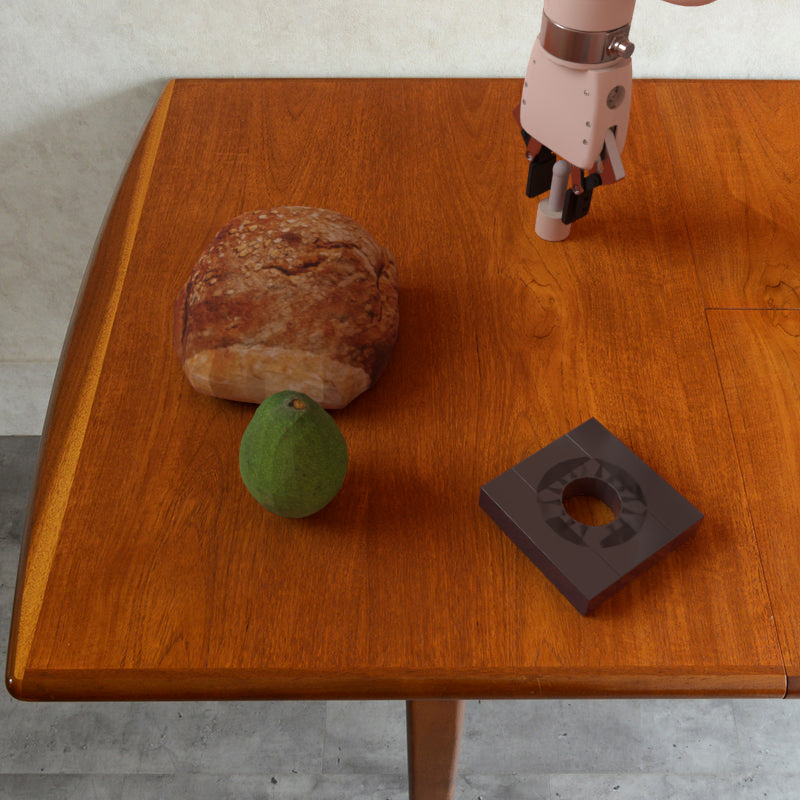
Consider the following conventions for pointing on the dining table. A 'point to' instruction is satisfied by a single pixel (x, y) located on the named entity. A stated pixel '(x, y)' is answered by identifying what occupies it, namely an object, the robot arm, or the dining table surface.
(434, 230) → the dining table surface
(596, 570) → the sink plate
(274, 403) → the fruit
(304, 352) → the bread
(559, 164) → the stopper
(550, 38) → the robot arm
